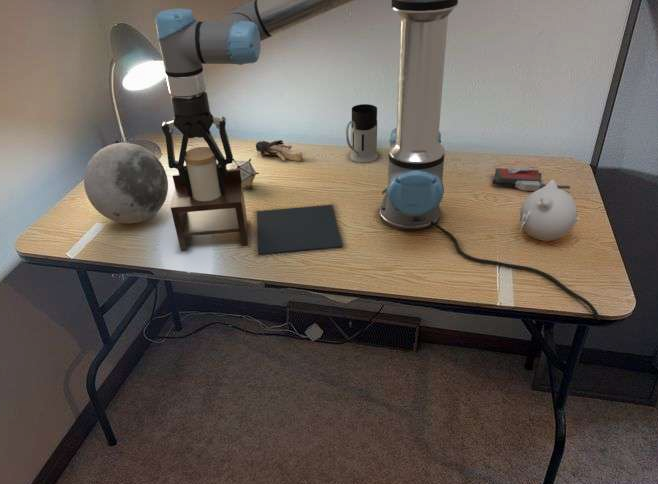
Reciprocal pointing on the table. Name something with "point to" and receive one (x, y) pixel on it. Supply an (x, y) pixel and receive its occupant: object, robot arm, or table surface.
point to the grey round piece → (548, 213)
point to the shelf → (210, 211)
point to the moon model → (126, 183)
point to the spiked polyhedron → (245, 172)
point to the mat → (297, 230)
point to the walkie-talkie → (520, 178)
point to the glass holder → (363, 133)
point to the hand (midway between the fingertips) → (206, 192)
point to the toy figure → (278, 150)
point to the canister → (203, 174)
